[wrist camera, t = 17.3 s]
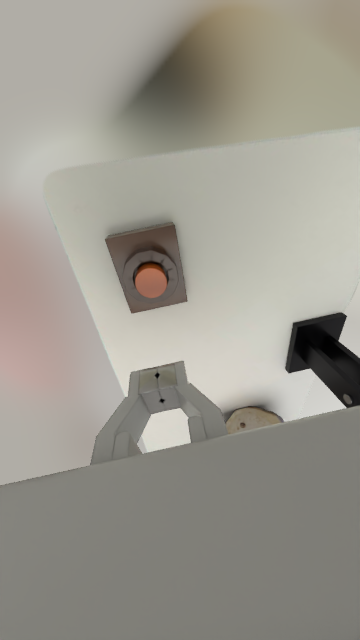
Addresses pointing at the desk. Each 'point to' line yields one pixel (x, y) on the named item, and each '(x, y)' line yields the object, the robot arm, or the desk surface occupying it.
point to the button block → (144, 249)
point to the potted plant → (251, 419)
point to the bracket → (326, 356)
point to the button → (150, 280)
